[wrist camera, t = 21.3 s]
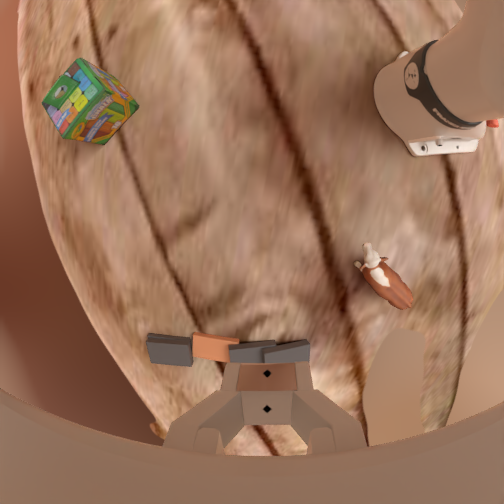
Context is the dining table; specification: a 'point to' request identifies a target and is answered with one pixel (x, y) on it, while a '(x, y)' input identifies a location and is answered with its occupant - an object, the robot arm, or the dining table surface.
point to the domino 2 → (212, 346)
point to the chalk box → (88, 103)
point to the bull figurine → (384, 279)
